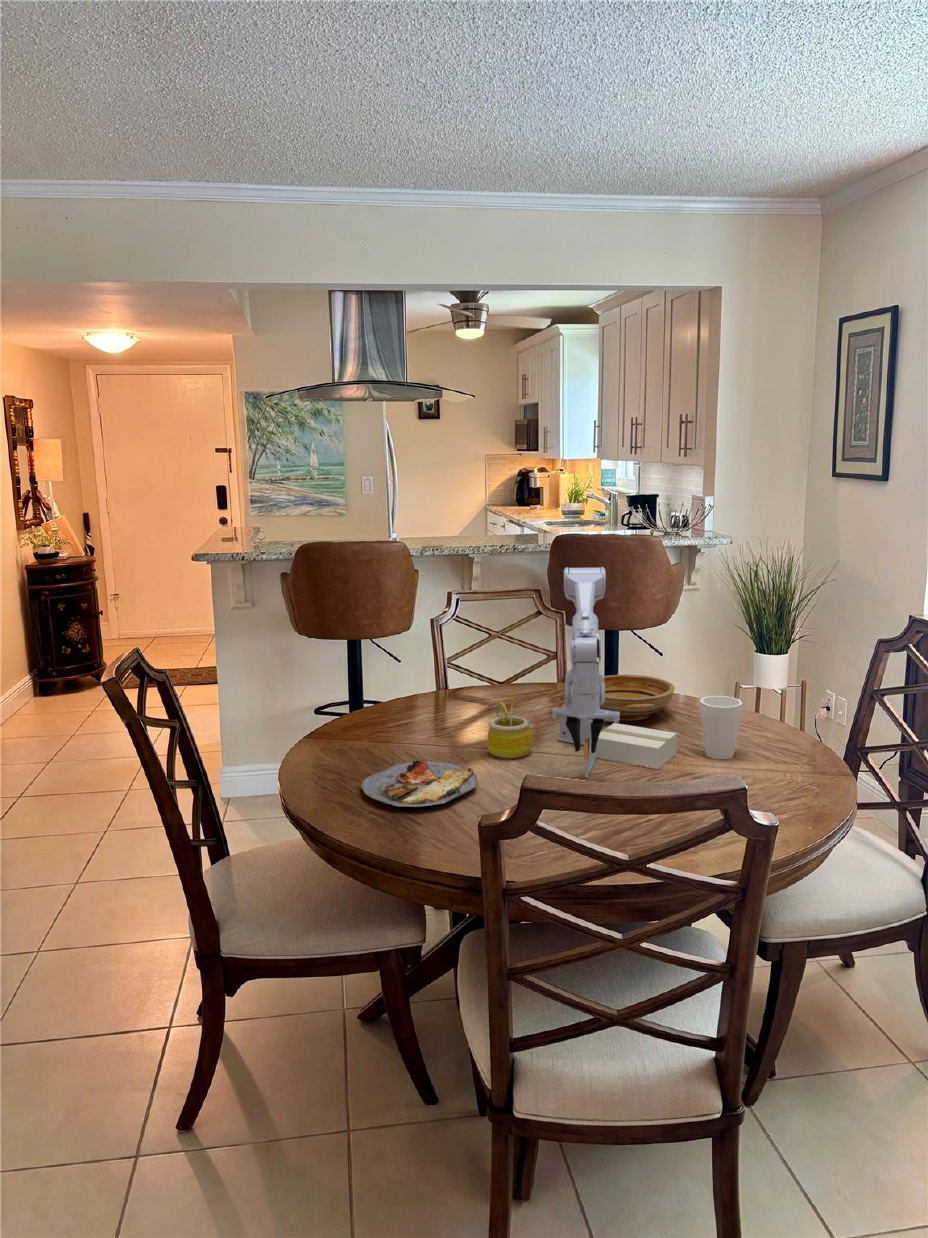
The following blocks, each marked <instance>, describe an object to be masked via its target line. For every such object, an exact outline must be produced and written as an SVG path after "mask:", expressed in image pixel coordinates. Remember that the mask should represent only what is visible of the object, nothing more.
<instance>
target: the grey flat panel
mask: <svg viewBox="0 0 928 1238" xmlns="http://www.w3.org/2000/svg"><path fill="white" fill-rule="evenodd" d="M597 759H598V758H597V745H596V751H595V753H591V746H590V738H588V737H586V739H585V741H584V745H583V760H584V778H585V777H587V776H588V774H589V773H591V772H590V771H592V769H593V767H594V764H595V762H596V760H597ZM589 775H590V774H589ZM588 777H589V776H588Z"/></svg>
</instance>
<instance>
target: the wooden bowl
mask: <svg viewBox="0 0 928 1238" xmlns="http://www.w3.org/2000/svg"><path fill="white" fill-rule="evenodd" d="M604 682H605V703H604V704H603V705H600V708H599V709H604V710H609V711H616V712H620V720H621V721H640V720H644V719H647V718H648V717H650V715H651V714H654V713H656V712H659V711H661V710H663V709H664V708H666V707H667V706H668V705H669V704H670V702H671V700H672V698H673V695H674V692H675V689H676V688H675V685H673V683H672V682H670V681H668V680H665V679H663V678H662V679H661V678H658V677H655V676H649V675H642V674H640V675H639V674H615V675H614V674H612V675H610V674H609V675H604ZM620 720H619V721H620Z"/></svg>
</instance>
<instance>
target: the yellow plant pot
mask: <svg viewBox="0 0 928 1238" xmlns="http://www.w3.org/2000/svg"><path fill="white" fill-rule="evenodd" d="M514 701H515V699H513V698H511V699H510V702H511V705H510V708H511V709H510V715H508V710H507V706H506V705H505V704H504V703H503V702H502V701H500V702H497V703H496V707H495V713H496V717H495V718H493V719H491V720H490V721H489V722H488V733H487V741H486V748H487V750H488V752H489V753H490V754H491V755H492V756H494V757H498V758H501V759H516V758H521V757H524V756H527V755H528V754H529V753H530V752H531V750H532V748H533V745H534V744H533V735H532V732H531V729H530V721H528V720H527V718H523V717H520V716H516V715H513V705H514V704H513V703H514ZM499 713H500V714H499Z"/></svg>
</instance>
